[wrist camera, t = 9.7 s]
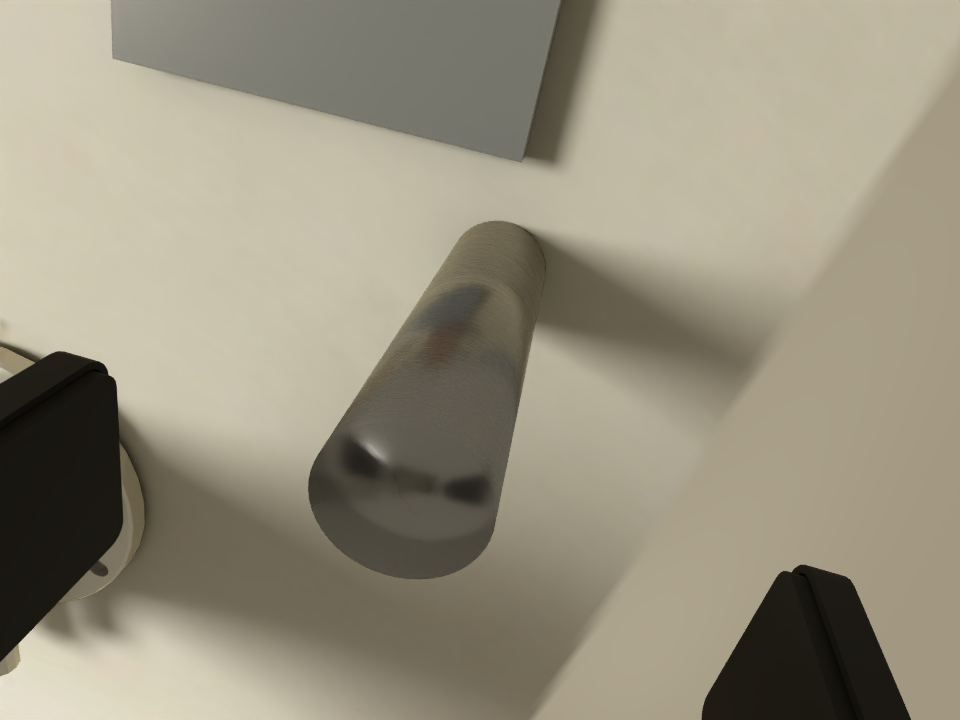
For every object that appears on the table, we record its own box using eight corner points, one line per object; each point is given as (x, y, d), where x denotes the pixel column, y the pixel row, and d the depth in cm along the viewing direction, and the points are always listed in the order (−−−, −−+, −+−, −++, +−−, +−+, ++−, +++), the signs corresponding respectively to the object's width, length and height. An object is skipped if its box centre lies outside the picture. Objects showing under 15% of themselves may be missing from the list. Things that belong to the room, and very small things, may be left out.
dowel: (531, 322, 22) (473, 599, 11) (442, 299, 22) (299, 551, 11) (556, 234, 20) (516, 453, 10) (461, 210, 21) (318, 400, 10)
